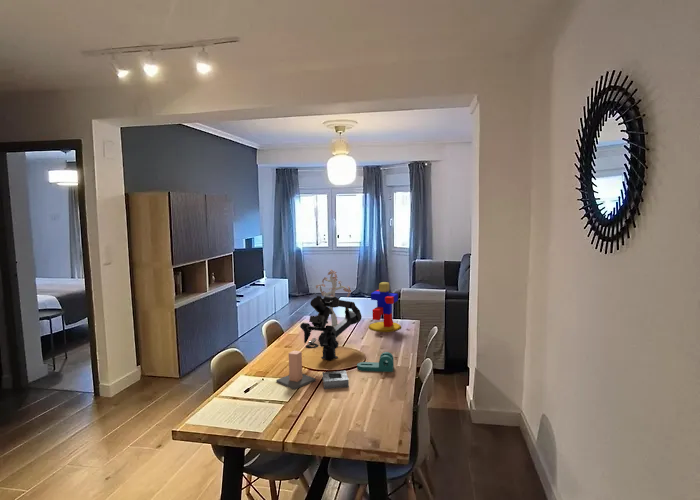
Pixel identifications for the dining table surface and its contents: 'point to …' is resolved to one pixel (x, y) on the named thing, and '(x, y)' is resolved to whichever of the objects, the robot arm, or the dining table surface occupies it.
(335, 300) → the robot arm
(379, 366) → the bracket
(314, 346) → the micrometer
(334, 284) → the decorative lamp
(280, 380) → the mat
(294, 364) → the peg
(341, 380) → the socket block
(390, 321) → the figurine
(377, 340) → the dining table surface
